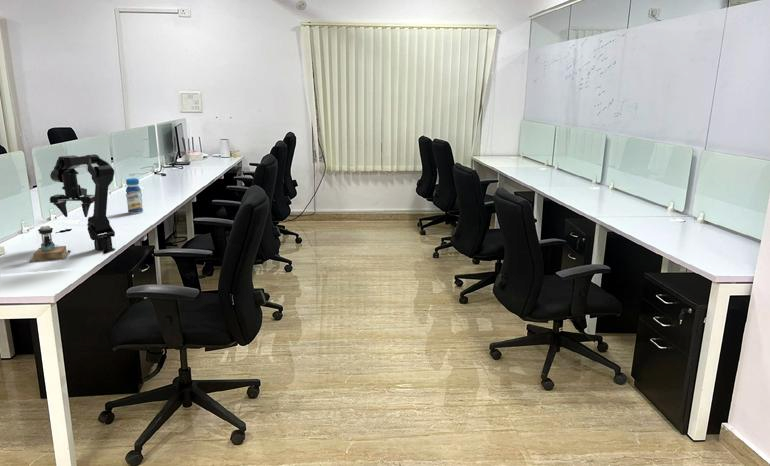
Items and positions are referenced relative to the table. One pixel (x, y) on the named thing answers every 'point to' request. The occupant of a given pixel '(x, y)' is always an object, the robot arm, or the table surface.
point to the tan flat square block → (50, 254)
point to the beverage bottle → (134, 196)
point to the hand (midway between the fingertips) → (76, 217)
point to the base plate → (54, 259)
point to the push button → (46, 238)
